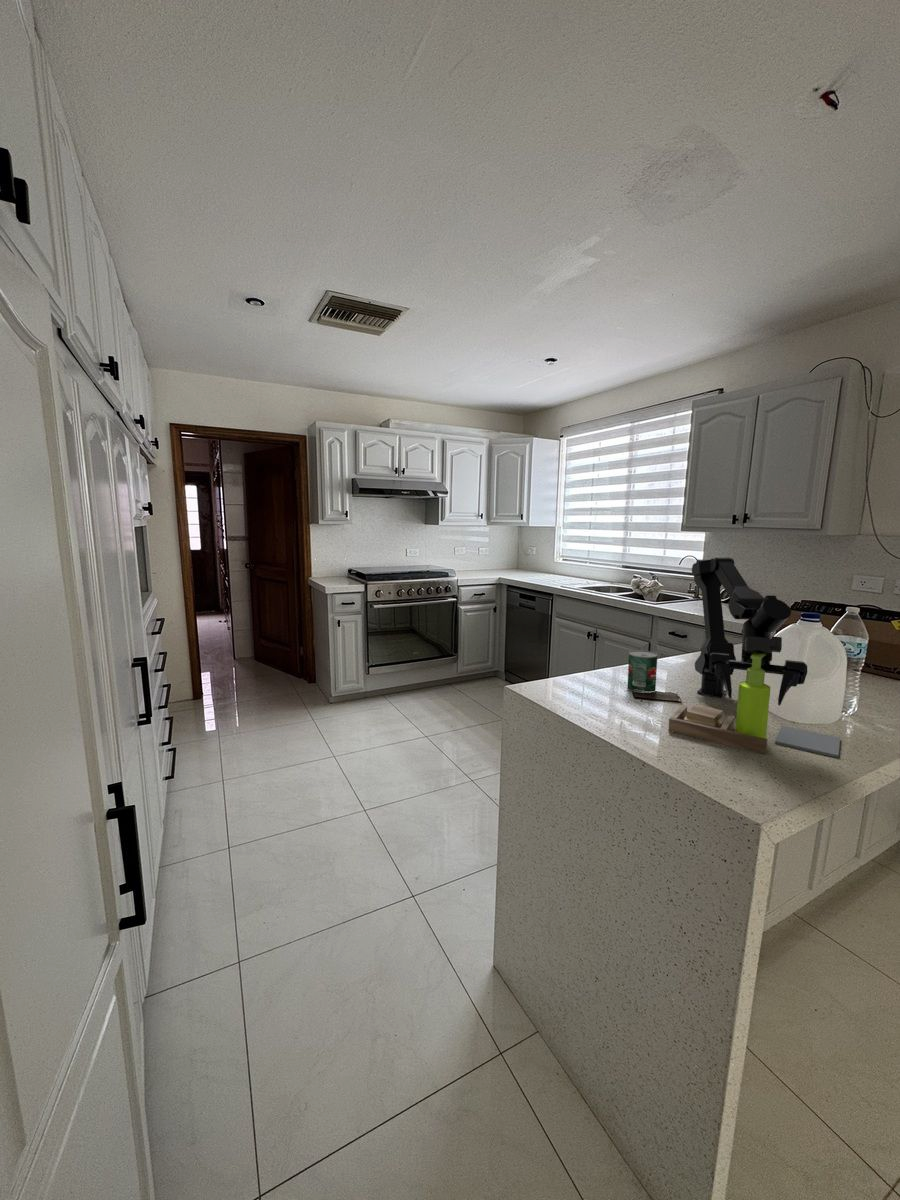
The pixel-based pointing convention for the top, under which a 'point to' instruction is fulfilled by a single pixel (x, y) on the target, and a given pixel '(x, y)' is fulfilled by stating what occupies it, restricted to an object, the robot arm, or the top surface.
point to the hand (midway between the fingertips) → (754, 701)
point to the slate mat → (808, 741)
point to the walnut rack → (716, 732)
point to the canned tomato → (642, 670)
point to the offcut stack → (705, 716)
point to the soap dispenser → (753, 700)
